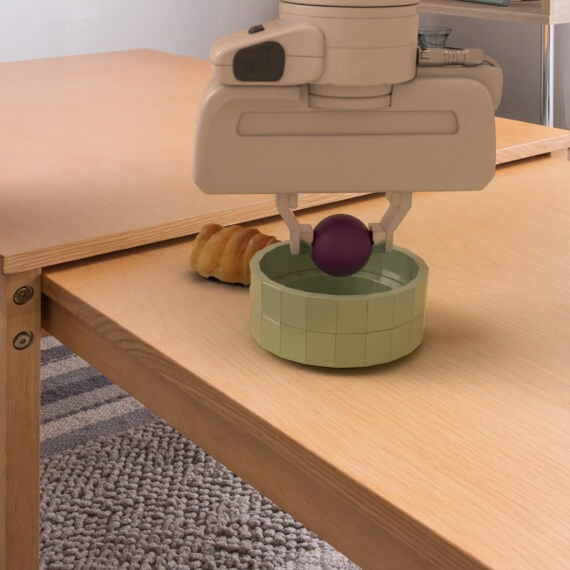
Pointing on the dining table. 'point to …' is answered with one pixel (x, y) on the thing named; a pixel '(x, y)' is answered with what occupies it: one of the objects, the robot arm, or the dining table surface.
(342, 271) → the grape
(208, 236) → the pastry
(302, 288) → the basin
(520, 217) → the dining table surface
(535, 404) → the dining table surface
